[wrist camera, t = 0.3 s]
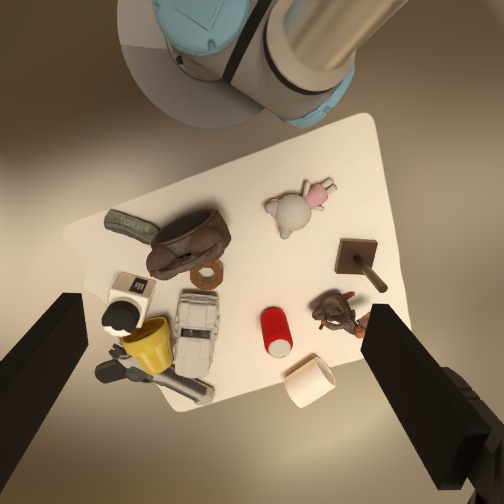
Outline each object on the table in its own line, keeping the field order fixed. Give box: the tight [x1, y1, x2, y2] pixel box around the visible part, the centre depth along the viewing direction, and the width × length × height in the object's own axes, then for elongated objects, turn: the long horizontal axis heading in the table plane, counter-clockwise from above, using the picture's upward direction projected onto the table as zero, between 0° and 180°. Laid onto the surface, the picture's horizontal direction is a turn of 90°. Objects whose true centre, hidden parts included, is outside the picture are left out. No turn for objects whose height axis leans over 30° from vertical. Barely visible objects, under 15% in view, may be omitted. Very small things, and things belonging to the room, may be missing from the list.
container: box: [102, 272, 156, 336], centre depth 68 cm, size 8×8×13 cm
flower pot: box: [121, 317, 174, 375], centre depth 74 cm, size 10×10×10 cm
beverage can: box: [261, 308, 293, 358], centre depth 74 cm, size 6×6×12 cm
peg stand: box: [334, 239, 388, 293], centre depth 68 cm, size 8×8×15 cm
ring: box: [190, 259, 223, 290], centre depth 72 cm, size 7×7×3 cm
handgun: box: [95, 344, 215, 405], centre depth 83 cm, size 5×29×15 cm
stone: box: [104, 210, 160, 245], centre depth 68 cm, size 12×2×5 cm
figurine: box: [312, 292, 371, 339], centre depth 72 cm, size 14×7×15 cm, turn 80°
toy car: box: [174, 293, 220, 378], centre depth 74 cm, size 10×20×10 cm, turn 172°
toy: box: [265, 178, 337, 239], centre depth 66 cm, size 8×7×15 cm
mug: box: [284, 357, 336, 408], centre depth 85 cm, size 8×10×12 cm
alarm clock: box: [146, 209, 231, 280], centre depth 60 cm, size 15×7×20 cm, turn 113°
